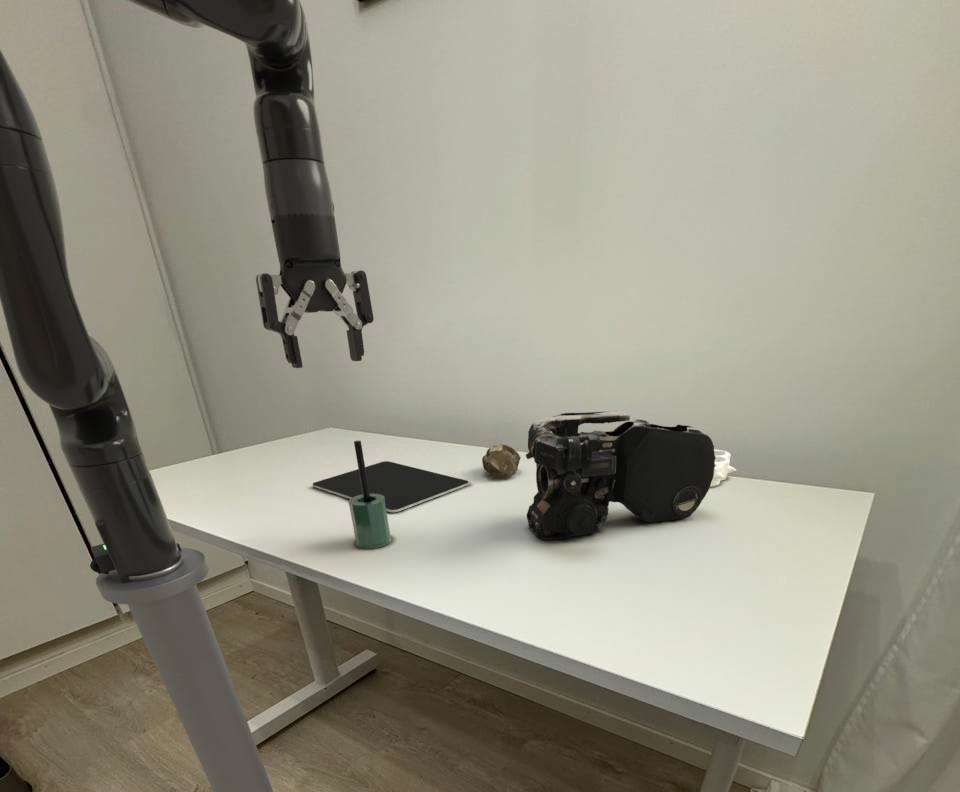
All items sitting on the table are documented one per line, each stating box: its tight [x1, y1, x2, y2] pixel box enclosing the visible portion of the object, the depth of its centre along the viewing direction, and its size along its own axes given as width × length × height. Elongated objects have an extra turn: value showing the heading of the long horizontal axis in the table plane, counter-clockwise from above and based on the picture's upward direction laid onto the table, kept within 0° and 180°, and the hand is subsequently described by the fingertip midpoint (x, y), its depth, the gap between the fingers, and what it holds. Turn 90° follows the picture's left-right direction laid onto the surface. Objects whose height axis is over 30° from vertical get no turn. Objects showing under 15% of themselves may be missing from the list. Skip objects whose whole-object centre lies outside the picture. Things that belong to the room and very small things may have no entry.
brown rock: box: [481, 443, 521, 478], centre depth 114 cm, size 8×7×10 cm
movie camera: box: [525, 410, 716, 541], centre depth 84 cm, size 31×18×18 cm, turn 100°
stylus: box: [353, 440, 371, 503], centre depth 84 cm, size 1×1×15 cm
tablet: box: [312, 460, 469, 513], centre depth 112 cm, size 27×1×20 cm
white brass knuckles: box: [710, 449, 737, 488], centre depth 106 cm, size 3×18×15 cm
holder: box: [348, 494, 392, 550], centre depth 86 cm, size 5×6×7 cm
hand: (327, 364), depth 75 cm, fingers open, 8 cm apart
